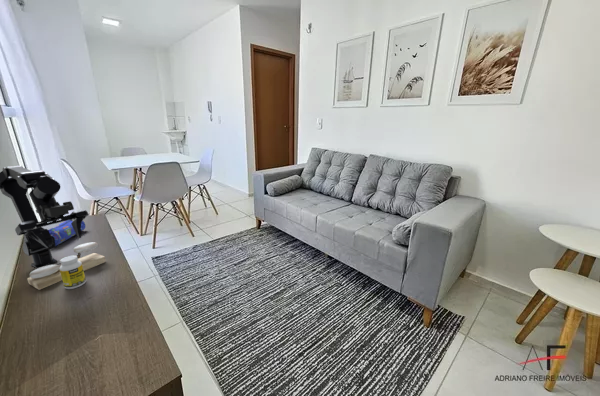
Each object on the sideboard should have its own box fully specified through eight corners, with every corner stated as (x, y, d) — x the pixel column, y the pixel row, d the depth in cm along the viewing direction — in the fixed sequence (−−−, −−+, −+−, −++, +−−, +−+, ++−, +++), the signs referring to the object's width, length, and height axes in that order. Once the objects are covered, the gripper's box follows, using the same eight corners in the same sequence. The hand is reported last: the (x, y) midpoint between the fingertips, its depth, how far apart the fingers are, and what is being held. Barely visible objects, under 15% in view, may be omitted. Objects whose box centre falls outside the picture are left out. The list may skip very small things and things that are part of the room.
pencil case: (71, 231, 142) (67, 215, 139) (88, 230, 143) (85, 214, 140) (40, 249, 121) (34, 231, 118) (60, 247, 122) (55, 229, 120)
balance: (29, 284, 94) (22, 264, 92) (95, 257, 113) (91, 240, 111) (39, 289, 91) (32, 269, 88) (105, 261, 110) (101, 244, 108)
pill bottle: (73, 290, 90) (66, 263, 87) (60, 288, 92) (52, 261, 89) (90, 280, 96) (84, 255, 93) (77, 278, 97) (70, 253, 94)
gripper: (14, 202, 78) (36, 247, 79) (84, 190, 94) (102, 227, 95) (6, 213, 84) (26, 255, 84) (74, 200, 100) (91, 235, 100)
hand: (64, 242), depth 91 cm, fingers open, 9 cm apart
